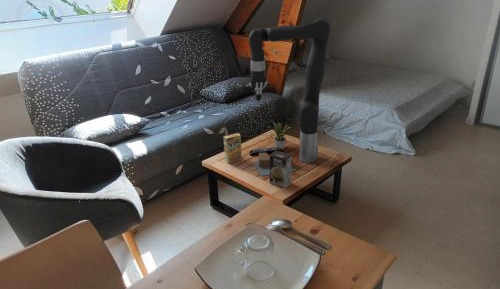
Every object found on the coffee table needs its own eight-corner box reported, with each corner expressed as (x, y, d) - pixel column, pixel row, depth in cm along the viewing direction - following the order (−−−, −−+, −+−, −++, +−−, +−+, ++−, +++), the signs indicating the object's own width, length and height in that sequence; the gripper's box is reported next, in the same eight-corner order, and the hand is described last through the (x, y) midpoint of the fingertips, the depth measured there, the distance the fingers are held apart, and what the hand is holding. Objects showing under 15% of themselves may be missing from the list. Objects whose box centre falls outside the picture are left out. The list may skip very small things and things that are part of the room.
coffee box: (269, 183, 179) (268, 155, 172) (275, 177, 184) (275, 149, 177) (285, 188, 175) (286, 159, 168) (291, 182, 180) (291, 153, 173)
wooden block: (258, 152, 200) (291, 151, 199) (258, 159, 202) (290, 159, 201) (259, 160, 192) (292, 159, 191) (259, 167, 194) (292, 166, 193)
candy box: (227, 163, 200) (226, 138, 193) (224, 160, 203) (223, 135, 196) (242, 159, 203) (240, 135, 197) (238, 156, 207) (237, 132, 200)
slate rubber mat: (285, 157, 204) (285, 156, 204) (295, 170, 190) (295, 169, 190) (253, 162, 200) (253, 161, 200) (261, 176, 186) (261, 175, 186)
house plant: (261, 147, 217) (261, 122, 210) (278, 140, 224) (278, 116, 217) (277, 155, 207) (277, 129, 200) (294, 148, 214) (295, 123, 207)
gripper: (267, 66, 191) (268, 97, 199) (243, 68, 188) (245, 99, 196) (272, 69, 185) (272, 101, 192) (247, 71, 182) (248, 104, 189)
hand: (258, 100), depth 194 cm, fingers closed
